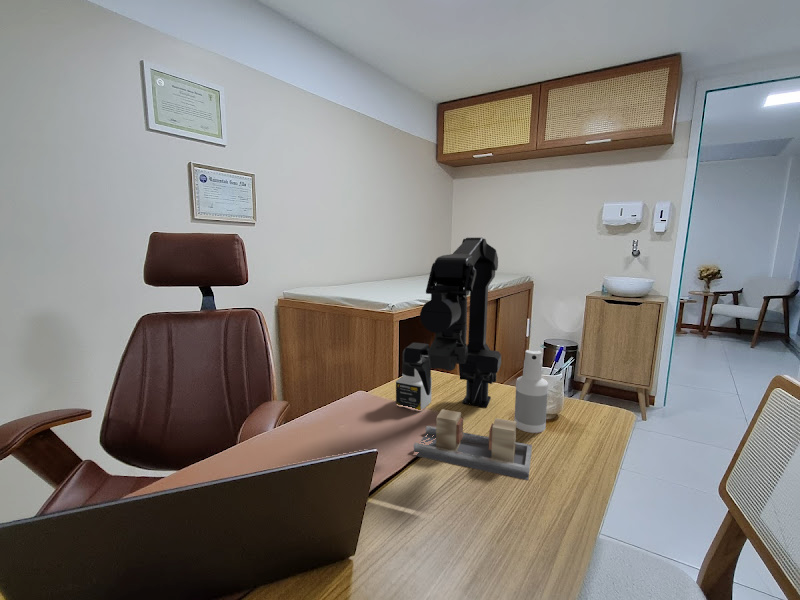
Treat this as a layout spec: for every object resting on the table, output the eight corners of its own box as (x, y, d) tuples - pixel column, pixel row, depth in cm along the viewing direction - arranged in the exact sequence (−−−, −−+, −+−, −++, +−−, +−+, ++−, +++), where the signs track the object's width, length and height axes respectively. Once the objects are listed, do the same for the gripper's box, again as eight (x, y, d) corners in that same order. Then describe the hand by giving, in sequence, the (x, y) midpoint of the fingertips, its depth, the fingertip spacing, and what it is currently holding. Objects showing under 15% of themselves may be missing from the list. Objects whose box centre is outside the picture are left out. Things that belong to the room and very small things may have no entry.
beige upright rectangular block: (491, 450, 77) (492, 417, 76) (514, 454, 75) (516, 421, 74) (488, 460, 73) (489, 426, 72) (512, 465, 72) (514, 430, 71)
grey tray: (426, 432, 84) (426, 425, 84) (531, 451, 76) (531, 445, 76) (413, 451, 77) (413, 444, 76) (528, 476, 68) (529, 468, 68)
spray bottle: (515, 432, 85) (518, 355, 82) (513, 419, 92) (516, 346, 89) (547, 436, 83) (552, 357, 81) (543, 422, 90) (547, 348, 87)
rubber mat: (428, 431, 86) (428, 429, 86) (531, 451, 77) (531, 449, 77) (411, 457, 76) (411, 454, 75) (528, 482, 67) (528, 480, 67)
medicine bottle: (395, 406, 99) (395, 362, 97) (407, 397, 105) (407, 354, 103) (420, 412, 95) (420, 366, 93) (431, 402, 101) (432, 358, 100)
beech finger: (436, 449, 77) (436, 417, 76) (441, 440, 81) (442, 409, 80) (458, 454, 75) (459, 421, 74) (463, 444, 79) (463, 412, 78)
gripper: (391, 326, 70) (391, 406, 73) (494, 335, 63) (491, 423, 66) (412, 315, 80) (412, 386, 83) (503, 322, 74) (499, 399, 76)
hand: (450, 398), depth 76 cm, fingers open, 9 cm apart
